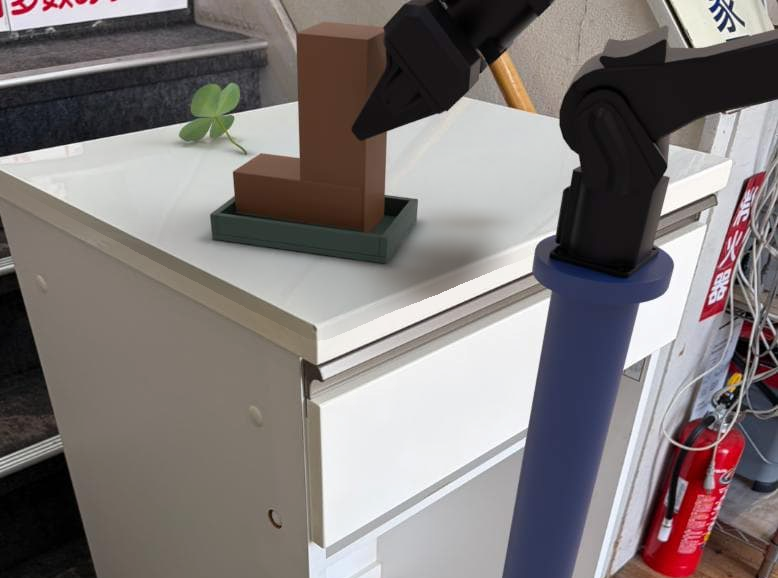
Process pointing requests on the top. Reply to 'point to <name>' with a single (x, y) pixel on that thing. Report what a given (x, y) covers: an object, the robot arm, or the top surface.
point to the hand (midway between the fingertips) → (373, 119)
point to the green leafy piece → (212, 112)
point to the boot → (325, 139)
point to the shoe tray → (320, 232)
